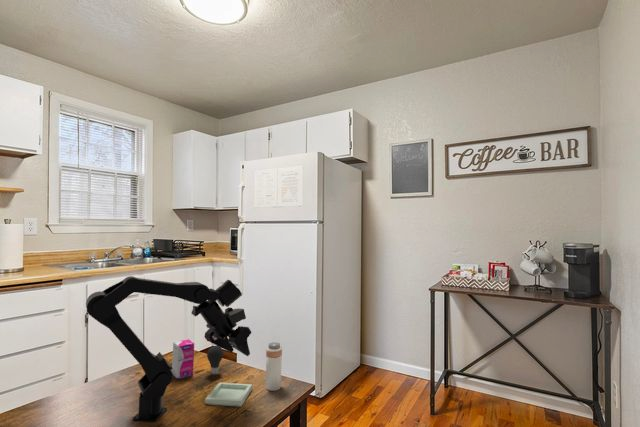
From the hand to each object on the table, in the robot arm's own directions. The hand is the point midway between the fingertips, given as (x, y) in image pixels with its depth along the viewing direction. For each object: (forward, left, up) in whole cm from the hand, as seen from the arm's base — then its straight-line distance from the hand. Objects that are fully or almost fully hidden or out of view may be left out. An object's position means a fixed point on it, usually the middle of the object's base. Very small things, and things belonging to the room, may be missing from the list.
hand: (240, 353), depth 112 cm
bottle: (+4, -10, -12) cm, 16 cm away
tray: (-4, +2, -12) cm, 13 cm away
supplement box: (+9, +24, -12) cm, 28 cm away
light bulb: (+11, +13, -12) cm, 20 cm away
